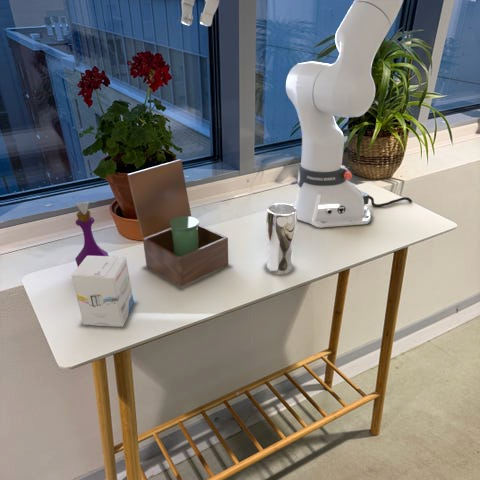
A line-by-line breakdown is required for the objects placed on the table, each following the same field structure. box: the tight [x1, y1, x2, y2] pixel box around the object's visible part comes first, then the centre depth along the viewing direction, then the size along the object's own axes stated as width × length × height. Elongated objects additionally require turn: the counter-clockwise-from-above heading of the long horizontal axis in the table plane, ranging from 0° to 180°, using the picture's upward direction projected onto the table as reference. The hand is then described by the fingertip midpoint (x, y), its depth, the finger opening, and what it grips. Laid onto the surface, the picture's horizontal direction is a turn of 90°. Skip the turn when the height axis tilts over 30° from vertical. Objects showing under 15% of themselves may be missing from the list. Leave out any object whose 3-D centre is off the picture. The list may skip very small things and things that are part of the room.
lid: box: [126, 159, 192, 238], centre depth 112 cm, size 14×14×1 cm
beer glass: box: [265, 203, 298, 276], centre depth 112 cm, size 7×7×15 cm
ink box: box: [71, 255, 135, 328], centre depth 97 cm, size 9×8×12 cm
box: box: [142, 223, 229, 287], centre depth 114 cm, size 13×14×8 cm
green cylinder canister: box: [169, 216, 200, 257], centre depth 113 cm, size 7×7×11 cm
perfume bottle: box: [74, 201, 110, 267], centre depth 109 cm, size 8×8×18 cm
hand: (195, 24), depth 92 cm, fingers open, 8 cm apart
